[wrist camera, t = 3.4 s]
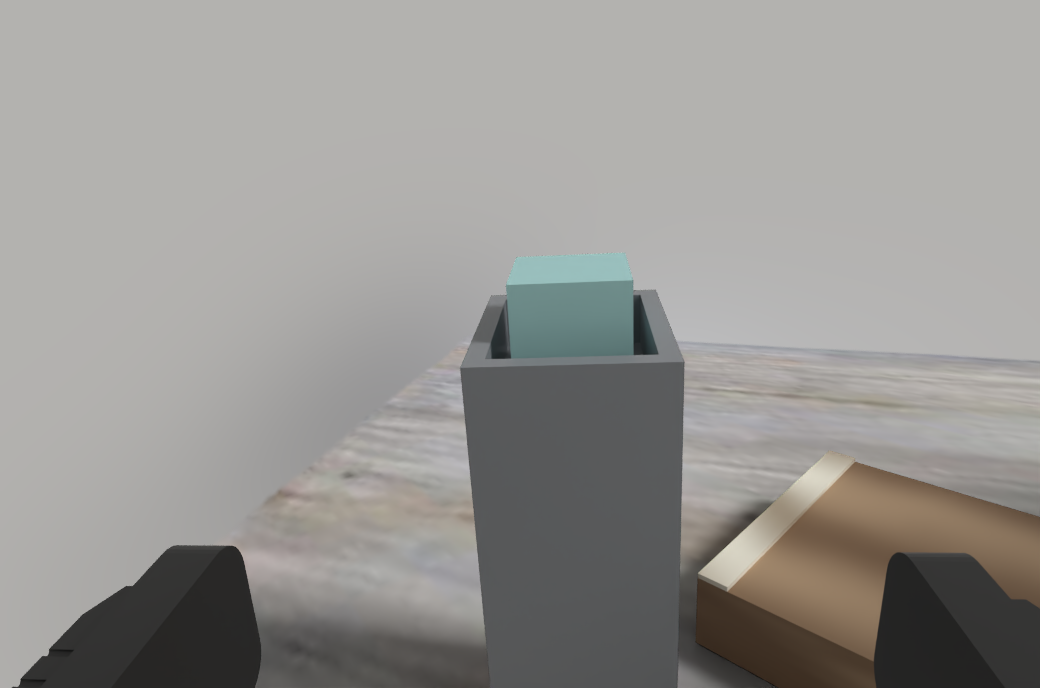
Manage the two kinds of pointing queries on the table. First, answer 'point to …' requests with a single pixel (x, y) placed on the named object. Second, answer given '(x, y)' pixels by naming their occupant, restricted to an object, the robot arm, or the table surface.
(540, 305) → the block
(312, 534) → the table surface
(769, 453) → the table surface
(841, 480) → the block
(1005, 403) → the table surface
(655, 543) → the carrier
